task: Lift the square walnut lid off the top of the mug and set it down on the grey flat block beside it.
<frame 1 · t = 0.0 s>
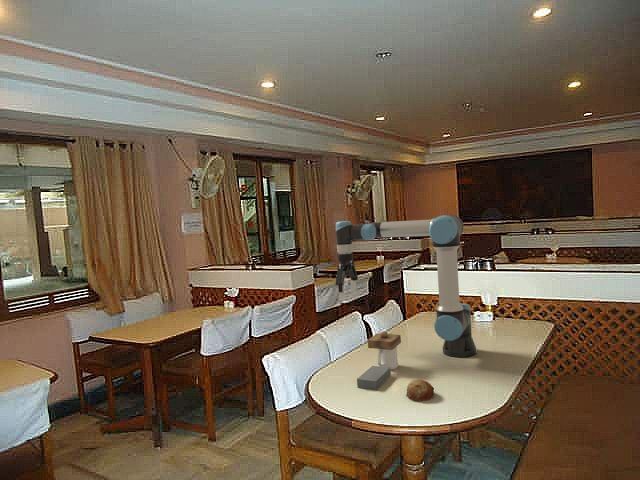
hand: (348, 296, 231), 28 cm above the table, fingers open, 13 cm apart
bread roll: (420, 396, 175), on the table
grey flat block: (374, 381, 192), on the table
mug: (386, 368, 207), on the table, touching lid
lid: (384, 345, 206), point 10 cm above the table, touching mug
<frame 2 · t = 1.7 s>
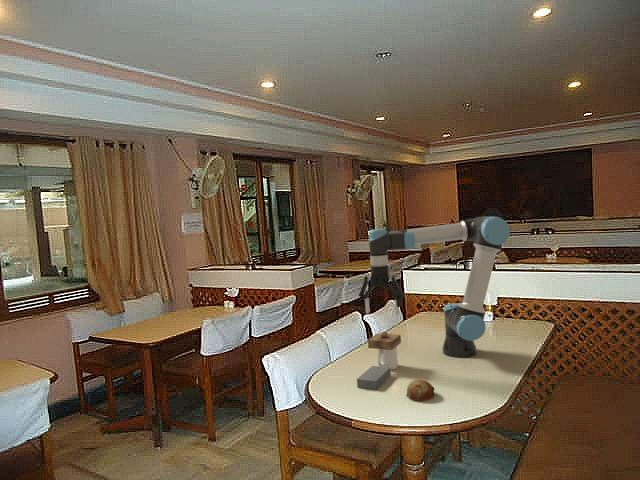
hand: (382, 313, 205), 24 cm above the table, fingers open, 13 cm apart
nothing on the table moved.
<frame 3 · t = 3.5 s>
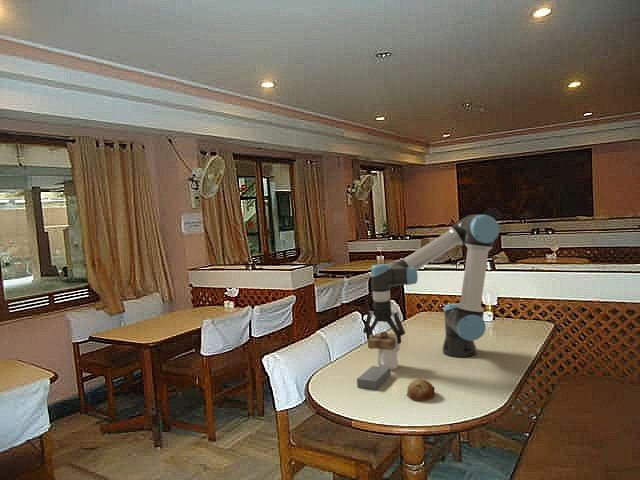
hand: (384, 349, 206), 8 cm above the table, fingers closed on lid, 11 cm apart
lid: (384, 345, 206), point 10 cm above the table, touching gripper, mug
everything else where it was.
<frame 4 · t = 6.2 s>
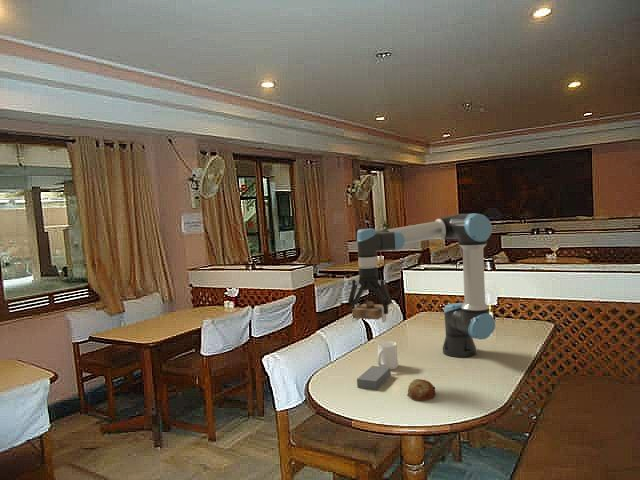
hand: (370, 320, 192), 25 cm above the table, fingers closed on lid, 11 cm apart
mug: (386, 368, 207), on the table
lid: (370, 315, 192), point 27 cm above the table, touching gripper
everything else where it was.
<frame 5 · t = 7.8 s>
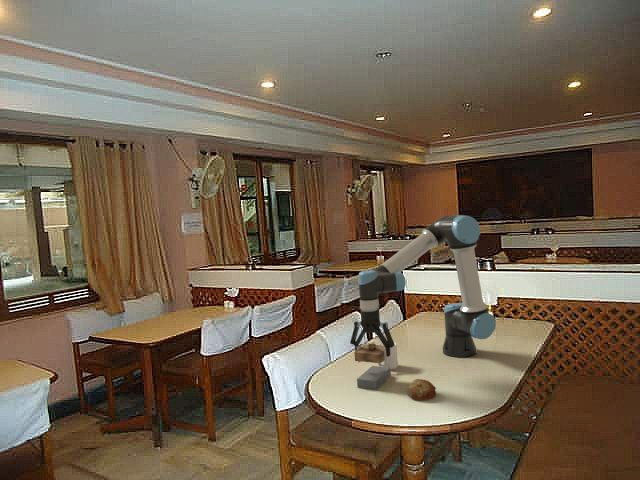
hand: (373, 362, 192), 8 cm above the table, fingers closed on lid, 11 cm apart
lid: (372, 357, 192), point 10 cm above the table, touching gripper
everything else where it was.
when the fingers open (3 cm above the table, at t = 9.2 s): lid drops 1 cm, resting on grey flat block.
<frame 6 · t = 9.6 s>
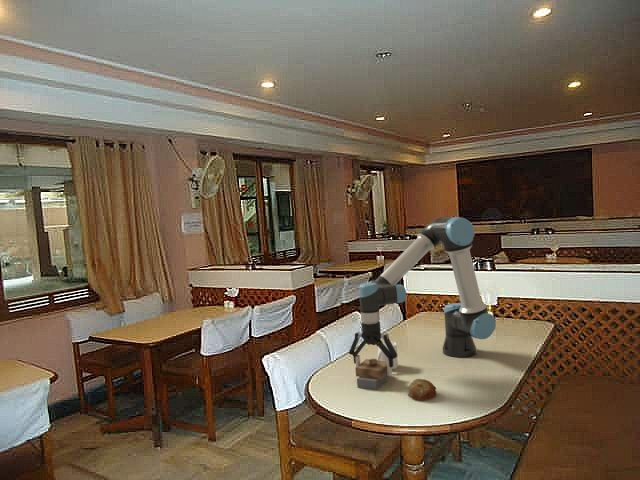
hand: (373, 373, 192), 4 cm above the table, fingers open, 13 cm apart
lid: (373, 373, 192), point 3 cm above the table, touching grey flat block
everything else where it was.
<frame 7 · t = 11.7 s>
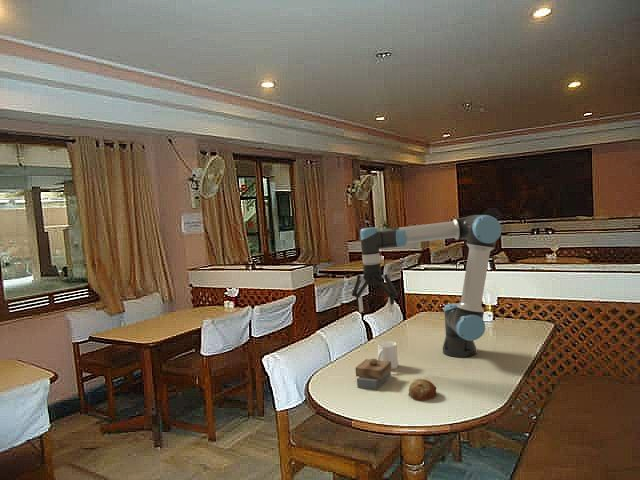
hand: (376, 311, 205), 25 cm above the table, fingers open, 13 cm apart
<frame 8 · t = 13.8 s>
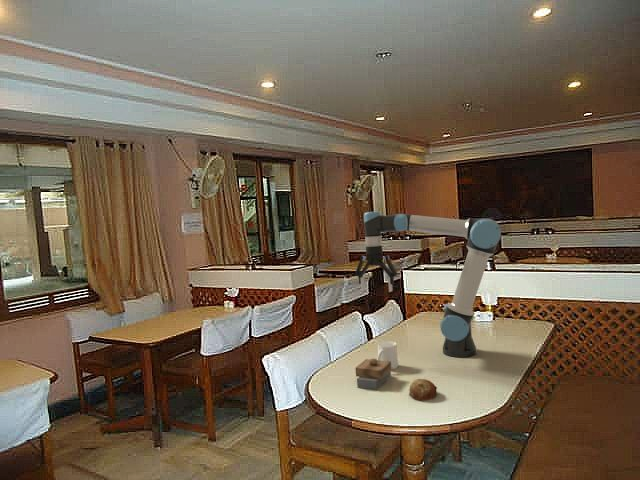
hand: (376, 291, 218), 32 cm above the table, fingers open, 13 cm apart
at the end: lid inside the target area on the grey flat block (0.1 cm from its centre), point 3.5 cm above the grey flat block's base; lid tilted 0°; mug moved 0.2 cm from its start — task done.
